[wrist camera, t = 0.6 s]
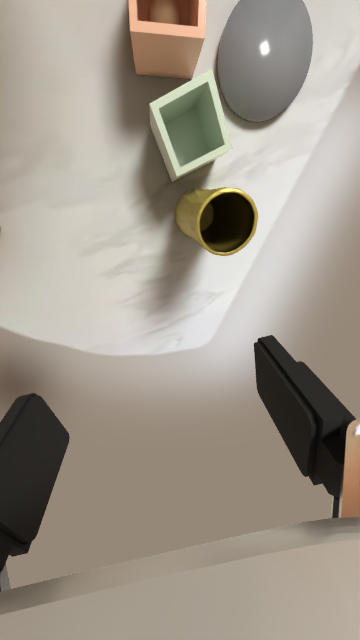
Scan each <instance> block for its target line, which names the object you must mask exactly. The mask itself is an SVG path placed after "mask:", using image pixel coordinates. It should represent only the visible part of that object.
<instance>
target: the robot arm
mask: <svg viewBox="0 0 360 640" xmlns="http://www.w3.org/2000/svg"><path fill="white" fill-rule="evenodd" d="M254 352H255V367H256V382H257V390H258V393H259V396H260V398H261V399H262V401H263V403H264V405H265V407H266V409H267V410H268V412H269V414H270V416H271V418H272V419H273V421H274V423H275V425H276V427H277V429H278V431H279V433H280V434H281V436H282V438H283V440H284V442H285V443H286V445H287V447H288V449H289V451H290V453H291V455H292V456H293V458H294V460H295V462H296V464H297V466H298V467H299V469H300V471H301V473H302V474H303V475H304V476H305V477H307V476H309V478H310V479H311V481H312V483H313V485H318V484H322V483H323V485H324V486H325V488H326V490H327V491H328V493H329V494H331V495H332V496H333V497H332V508H331V518H330V519H323V520H316V521H309V522H302V523H297V524H293V525H288V526H283V527H278V528H274V529H269V530H264V531H259V532H254V533H249V534H245V535H240V536H236V537H232V538H227V539H223V540H218V541H215V542H210V543H205V544H201V545H197V546H192V547H188V548H183V549H179V550H175V551H171V552H167V553H162V554H158V555H153V556H149V557H145V558H140V559H136V560H132V561H128V562H123V563H119V564H115V565H110V566H106V567H102V568H98V569H93V570H89V571H85V572H81V573H76V574H72V575H68V576H64V577H60V578H55V579H51V580H47V581H43V582H39V583H35V584H30V585H26V586H22V587H18V588H14V589H11V588H10V583H9V578H8V572H7V568H6V560H7V558H8V555H11V556H17V555H21V554H26V553H28V551H29V548H30V545H31V542H32V541H33V540H34V539H35V537H36V535H37V533H38V530H39V527H40V524H41V521H42V518H43V516H44V513H45V510H46V507H47V504H48V501H49V498H50V495H51V492H52V489H53V486H54V483H55V481H56V478H57V475H58V472H59V469H60V466H61V463H62V460H63V458H64V455H65V452H66V449H67V446H68V443H69V433H68V432H67V431H66V429H65V428H64V426H63V425H62V424H61V423H60V421H59V420H58V418H57V417H56V416H55V414H54V413H53V412H52V410H51V409H50V408H49V406H47V404H46V402H45V401H44V400H43V398H42V397H41V396H38V395H37V394H35V393H31V394H28V395H23V396H20V397H18V398H17V399H16V400H15V401H14V403H13V404H12V406H11V408H10V409H9V410H8V412H7V413H6V415H5V416H4V418H3V419H2V421H1V422H0V640H360V419H356V418H355V417H354V416H353V415H352V414H351V413H350V412H349V411H348V410H347V409H346V407H344V405H343V404H342V403H341V402H340V401H339V400H338V399H337V398H336V397H335V396H334V394H333V393H332V392H330V390H329V389H328V388H327V387H326V386H325V385H324V384H323V383H322V382H321V380H320V379H319V378H318V377H317V376H316V375H315V374H314V373H313V372H312V371H311V370H310V369H309V367H308V366H307V365H306V364H305V363H303V362H301V361H300V362H296V361H295V360H294V359H293V358H292V357H291V355H290V354H289V353H288V352H287V351H286V350H285V349H284V347H283V346H282V345H281V344H280V343H279V342H278V341H277V340H276V338H275V337H274V336H272V335H270V336H266V337H262V338H259V339H258V342H256V343H254Z"/></svg>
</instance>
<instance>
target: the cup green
mask: <svg viewBox="0 0 360 640" xmlns="http://www.w3.org/2000/svg"><path fill="white" fill-rule="evenodd" d="M149 105H150V127H151V129H152V132H153V135H154V137H155V140H156V142H157V145H158V147H159V150H160V153H161V155H162V158H163V160H164V163H165V165H166V168H167V171H168V173H169V176H170V178H171V181H172V182H173V181H175V180H177V179H179V178H181V177H183V176H185V175H187V174H189V173H190V172H192V171H194V170H196V169H198V168H200V167H202V166H204V165H206V164H208V163H210V162H212V161H214V160H216V159H217V158H219V157H220V156H222V155H223V154H225V153H226V152H228V151H229V150H231V149H232V145H231V141H230V137H229V133H228V129H227V125H226V121H225V117H224V114H223V110H222V106H221V102H220V98H219V94H218V90H217V86H216V82H215V78H214V74H213V70H212V69H210V70H209V71H207V72H205V73H203V74H202V75H200V76H198V77H196V78H194V79H193V80H191V81H189V82H187V83H185V84H184V85H182V86H180V87H178V88H177V89H175V90H173V91H171V92H169V93H168V94H166V95H164V96H162V97H160V98H159V99H157V100H155V101H153V102H152V103H150V104H149Z"/></svg>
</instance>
